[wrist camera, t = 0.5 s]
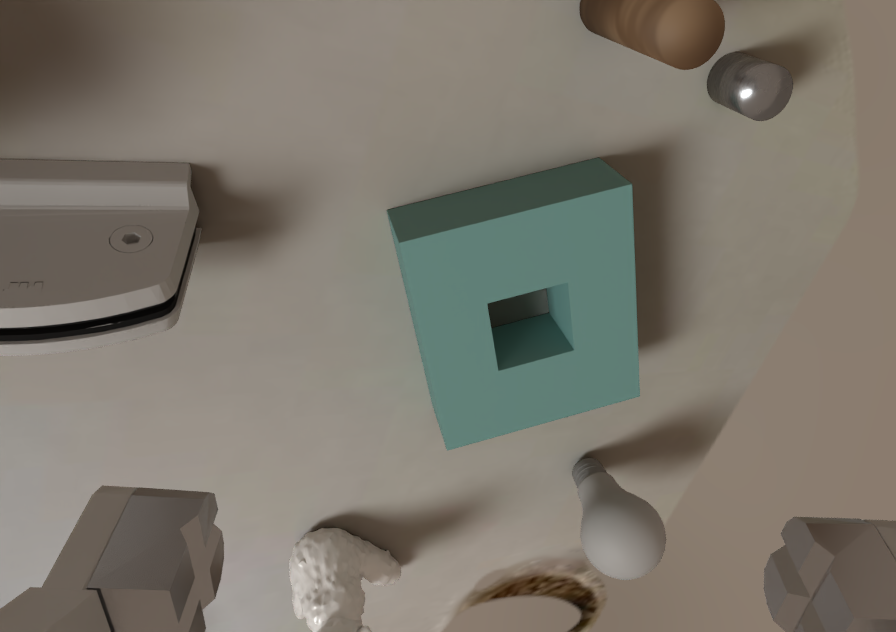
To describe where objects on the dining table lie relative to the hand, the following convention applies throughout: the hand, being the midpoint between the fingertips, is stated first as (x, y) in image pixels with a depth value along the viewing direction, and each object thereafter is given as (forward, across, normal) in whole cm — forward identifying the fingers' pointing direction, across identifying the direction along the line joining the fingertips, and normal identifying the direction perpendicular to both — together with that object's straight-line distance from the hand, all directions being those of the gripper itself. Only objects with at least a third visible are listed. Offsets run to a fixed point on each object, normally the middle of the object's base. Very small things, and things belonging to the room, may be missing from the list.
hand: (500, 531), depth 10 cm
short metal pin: (+39, -17, +4) cm, 43 cm away
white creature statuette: (+31, +8, +41) cm, 52 cm away
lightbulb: (+36, -12, +35) cm, 51 cm away
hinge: (+30, +23, +12) cm, 40 cm away
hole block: (+35, -4, +18) cm, 40 cm away
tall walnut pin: (+38, -8, 0) cm, 38 cm away
